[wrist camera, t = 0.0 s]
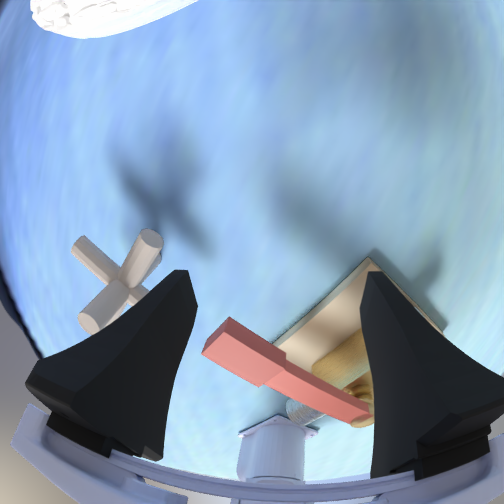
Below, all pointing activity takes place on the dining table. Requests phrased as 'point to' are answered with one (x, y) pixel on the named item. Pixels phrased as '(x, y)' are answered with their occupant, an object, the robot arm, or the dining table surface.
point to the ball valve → (339, 377)
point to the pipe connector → (117, 278)
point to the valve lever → (281, 373)
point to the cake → (100, 15)
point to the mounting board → (332, 320)
